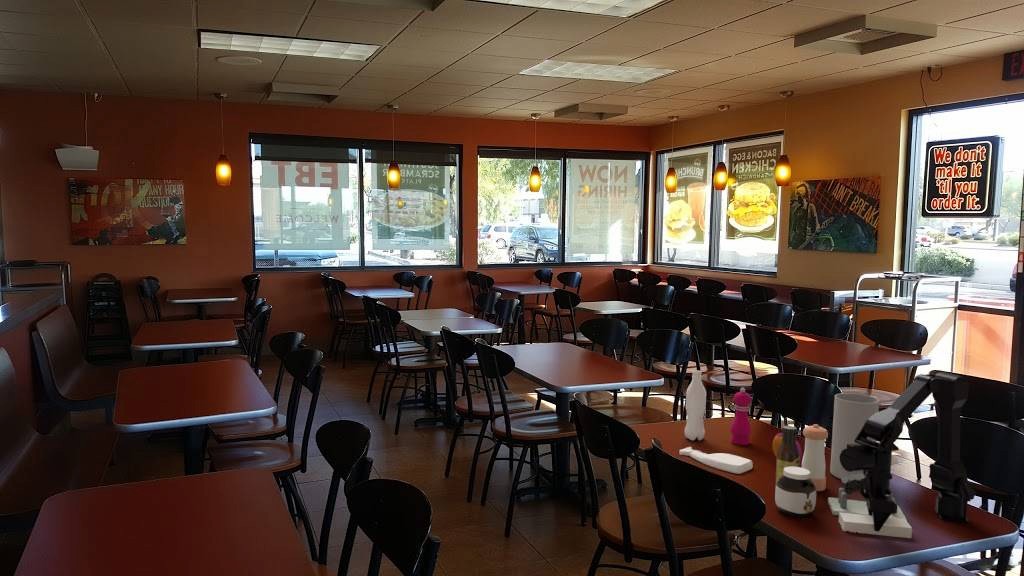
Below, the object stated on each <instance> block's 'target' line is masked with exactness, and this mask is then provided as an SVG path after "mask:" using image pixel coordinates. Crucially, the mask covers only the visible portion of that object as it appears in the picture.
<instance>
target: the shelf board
mask: <svg viewBox="0 0 1024 576" xmlns="http://www.w3.org/2000/svg"><path fill="white" fill-rule="evenodd" d="M906 519H907V518H906ZM906 519H902V518H892V517H889V518H888V519H887V520H886V522H885V523H884V525H883V526H882V528H881V529H880V531H875V530H874V524H873V516H872V515H862V514H851V513H841V512H839V515H838V524H839V523H840V524H839V526H840V525H841V526H840V527H841V530H842V532H846V531H849V533H856V532H858V534H865V533H866V534H868V535H877V536H887V537H897V538H907V539H912V536H913V534H912V533H913V527H912V526H911V524H910V523H909V522H908V521H906Z"/></svg>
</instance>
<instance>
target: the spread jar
mask: <svg viewBox="0 0 1024 576" xmlns="http://www.w3.org/2000/svg"><path fill="white" fill-rule="evenodd" d="M783 474H784V475H783V476H782V477H780V478H779V480H778V481H777V484H776V483H775V493H774V500H775V505H776V506H777V508H778V509H779V510H780V511H781V512H782V513H783V514H785V515H788V516H790V517H796V518H797V517H798V518H803V517H807V516H808V515H810V514H811V513H812V512H813V511H814V510H815V507H816V503H817V491H816V486H815V484H814V483H813V481H812V480H811V479H810V471H809V470H807V469H804V468H802V467H801V466H799V467H785V468H784V472H783Z"/></svg>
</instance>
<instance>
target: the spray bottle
mask: <svg viewBox="0 0 1024 576" xmlns="http://www.w3.org/2000/svg"><path fill="white" fill-rule="evenodd" d="M679 455H680V456H689V457H691V458H692V459H694V460H696V461H698V462H699V463H701V464H704V465H707V466H709V467H712V468H715V469H717V470H720V471H721V470H722V471H725V472H729V473H733V474H737V475H738V474H739V475H740V474H743V473H746V472H747V471H750V470H752V469H753V467H754V465H753V464H754V463H753V461H752V460H751V459H748V458H745V457H743V456H739V455H735V454H731V453H723V452H720V453H719V452H718V453H716V452H715V453H710V454H708V453H706V452H702V451H701V450H697V449H693V447H692V446H687V447H685V448H683V449H682V448H681V449H679Z"/></svg>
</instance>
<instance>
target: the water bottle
mask: <svg viewBox="0 0 1024 576" xmlns="http://www.w3.org/2000/svg"><path fill="white" fill-rule="evenodd" d="M691 378H692V379H691V382H690V384H689V385H688V387H687V389H686V392H685V395H686V397H685V410H686V417H687V418H686V425H685V427H684V436H685V438H686V439H689V440H690V441H695V440H696V439H697V441H702V440H703V438H704V437H705V434H706V433H705V432H706V430H705V427H704V426H705V425H704V415H705V413H706V410H707V408H706V404H707V390H706V388H705V386H704V384H703V381H702V378H703V377H702V370H697V369H695V370H692V376H691Z"/></svg>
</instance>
